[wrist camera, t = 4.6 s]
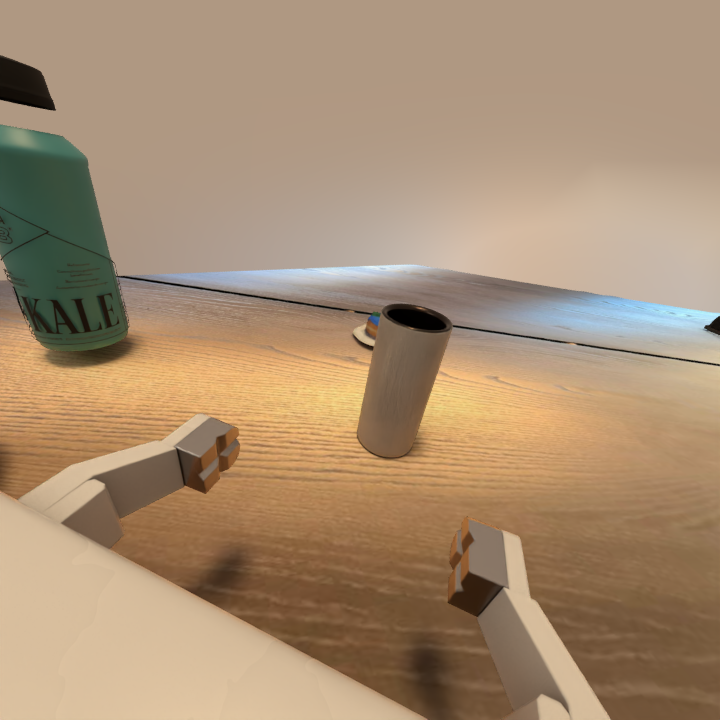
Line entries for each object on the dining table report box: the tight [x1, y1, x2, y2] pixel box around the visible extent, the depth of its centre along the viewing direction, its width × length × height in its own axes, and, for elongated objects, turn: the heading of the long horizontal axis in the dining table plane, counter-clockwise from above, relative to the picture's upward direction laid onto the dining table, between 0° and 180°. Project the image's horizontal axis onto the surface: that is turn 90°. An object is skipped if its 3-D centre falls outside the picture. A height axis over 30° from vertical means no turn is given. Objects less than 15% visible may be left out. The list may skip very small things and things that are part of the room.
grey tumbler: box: [357, 304, 453, 458], centre depth 21 cm, size 4×4×10 cm
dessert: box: [353, 312, 381, 346], centre depth 39 cm, size 8×7×6 cm
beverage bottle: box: [0, 55, 130, 351], centre depth 22 cm, size 6×7×20 cm
